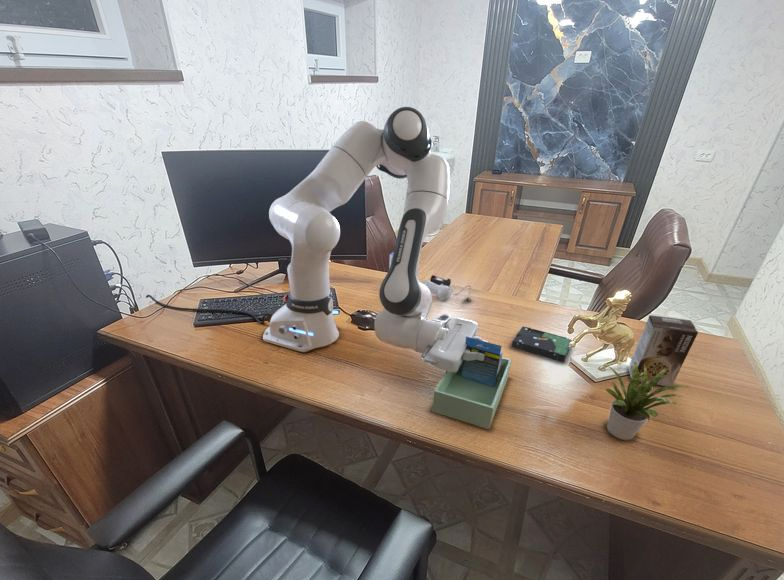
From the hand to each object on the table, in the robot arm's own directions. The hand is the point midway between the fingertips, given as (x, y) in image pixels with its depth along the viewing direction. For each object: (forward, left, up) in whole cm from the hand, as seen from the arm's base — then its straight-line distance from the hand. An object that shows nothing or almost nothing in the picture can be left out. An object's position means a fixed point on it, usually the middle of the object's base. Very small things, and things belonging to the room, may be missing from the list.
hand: (487, 351), depth 94 cm
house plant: (+31, -12, -9) cm, 34 cm away
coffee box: (+42, +12, -9) cm, 45 cm away
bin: (-2, -6, -9) cm, 11 cm away
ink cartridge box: (-32, +54, -9) cm, 64 cm away
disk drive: (+16, +20, -9) cm, 28 cm away
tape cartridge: (-1, 0, -9) cm, 9 cm away
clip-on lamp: (-14, +48, -9) cm, 51 cm away
